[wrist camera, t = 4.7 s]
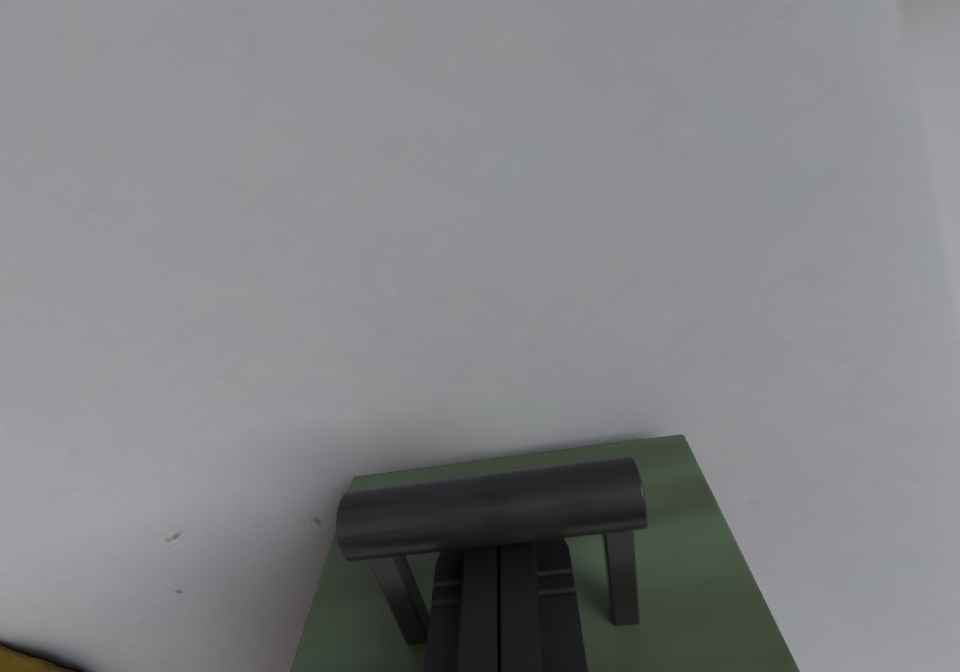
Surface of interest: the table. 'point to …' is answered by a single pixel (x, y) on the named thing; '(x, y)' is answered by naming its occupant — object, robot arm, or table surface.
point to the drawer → (545, 516)
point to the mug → (25, 663)
